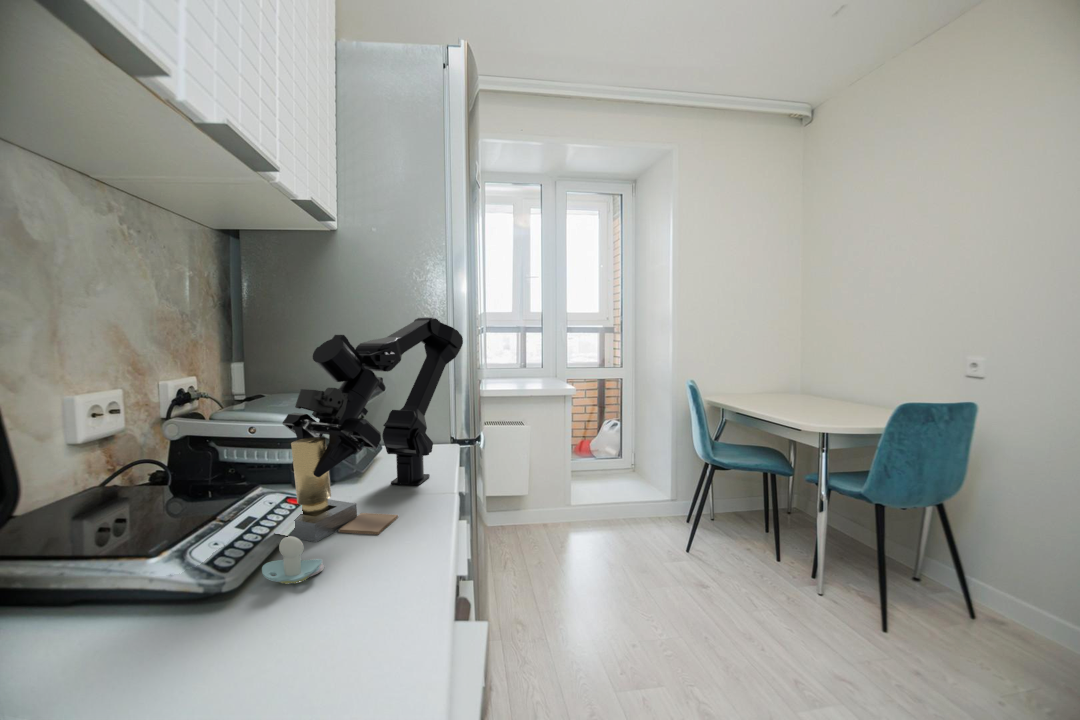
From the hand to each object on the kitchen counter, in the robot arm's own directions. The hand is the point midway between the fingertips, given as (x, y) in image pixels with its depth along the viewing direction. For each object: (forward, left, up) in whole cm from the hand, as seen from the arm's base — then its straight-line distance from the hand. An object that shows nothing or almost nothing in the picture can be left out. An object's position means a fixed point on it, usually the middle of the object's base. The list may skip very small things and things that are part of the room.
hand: (304, 474), depth 77 cm
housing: (-1, +1, -9) cm, 10 cm away
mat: (-3, +9, -9) cm, 14 cm away
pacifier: (+14, +8, -10) cm, 19 cm away
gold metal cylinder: (-2, +1, -8) cm, 8 cm away
